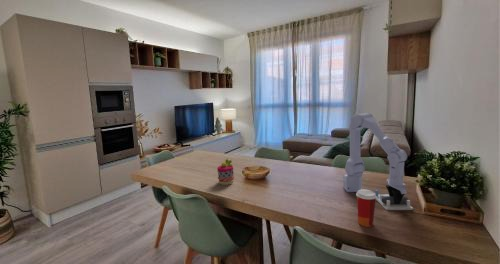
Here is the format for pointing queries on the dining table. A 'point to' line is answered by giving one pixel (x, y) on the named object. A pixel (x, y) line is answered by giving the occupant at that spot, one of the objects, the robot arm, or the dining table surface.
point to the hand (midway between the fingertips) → (394, 201)
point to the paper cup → (365, 207)
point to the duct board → (392, 206)
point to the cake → (225, 173)
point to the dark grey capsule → (393, 200)
